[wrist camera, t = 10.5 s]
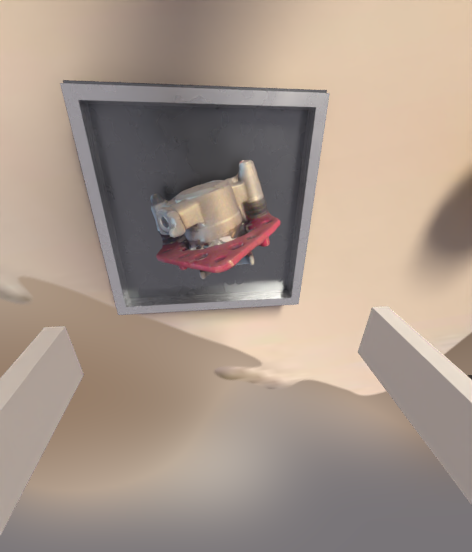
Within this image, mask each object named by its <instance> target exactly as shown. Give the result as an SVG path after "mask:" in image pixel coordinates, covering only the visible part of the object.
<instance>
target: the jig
mask: <svg viewBox="0 0 472 552" xmlns="http://www.w3.org/2000/svg"><path fill="white" fill-rule="evenodd" d="M60 84H61V88H62V92H63V96H64V100H65V104H66V108H67V112H68V116H69V120H70V124H71V128H72V132H73V136H74V140H75V144H76V148H77V152H78V156H79V160H80V164H81V168H82V172H83V176H84V180H85V184H86V188H87V192H88V196H89V200H90V204H91V208H92V212H93V216H94V220H95V224H96V228H97V232H98V236H99V240H100V244H101V248H102V252H103V256H104V260H105V264H106V268H107V272H108V276H109V280H110V284H111V288H112V292H113V296H114V300H115V304H116V308H117V312H118V315H126V314H143V313H160V312H177V311H193V310H210V309H227V308H244V307H261V306H277V305H294V304H299V297H300V290H301V283H302V276H303V270H304V263H305V256H306V249H307V243H308V236H309V229H310V222H311V215H312V209H313V202H314V195H315V188H316V181H317V175H318V168H319V161H320V154H321V147H322V141H323V134H324V127H325V120H326V114H327V107H328V100H329V93H326V92H327V90H304V89H278V88H252V87H226V86H199V85H173V84H147V83H121V82H95V81H69V80H63V83H60ZM242 160H244V161H245V160H252V161H253V163H254V166H255V169H256V171H257V175H258V178H259V181H260V185H261V189H262V192H263V195H264V198H265V200H266V203H267V209H268V211H269V213H270V214H271V215H272V216H274V217H276V218H278V219H279V220H280V222H281V223H280V226H279V227H278V228H277V229H276V230H275V232H274V233H272V234H271V235H270V236H269V241H270V244H269V246H266V247H262V246H257V247H255V248H254V249H253V250H252V254H253V256H254V264H253V265H250V264H241V265H235V266H234V267H232V268H231V269H229V270H227V271H224V272H221V273H212V274H210V275H208V276H207V277H206V278H205V279H202V278H201V277H200V273H199V271H200V270H198V269H191V268H187V269H186V270H180V268H179V266H178V265H174V264H169V263H164V262H162V261H158V260H157V258H156V255H157V253H158V252H159V251H160V250H161V249H162V246H163V241H162V237H161V235H160V234H159V232H158V230H157V226H156V221H155V218H154V215H153V213H152V210H151V199H150V198H151V195H153V194H154V193H158V194H160V195H161V196H162V197H163V198H164V199H165V200H167V201H170V200H172V199H173V198H174V197H175V196H176V195H178V194H179V193H180V192H182V191H184V190H186V189H189V188H192V187H194V186H197V185H201V184H204V183H207V182H210V181H213V180H226V179H228V178H231V177H234V176H236V175H237V174H238V172H239V163H240V162H241V161H242Z"/></svg>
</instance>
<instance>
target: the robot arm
mask: <svg viewBox="0 0 472 552" xmlns="http://www.w3.org/2000/svg"><path fill="white" fill-rule="evenodd" d="M358 353H359V354H360V356H361V357H362V359H363V360H364V361H365V363H366V364H367V365H368V367H369V368H370V369H371V371H372V372H373V373H374V375H375V376H376V377H377V379H378V380H379V381H380V383H381V384H382V385H383V387H384V388H385V389H386V391H387V392H388V393H389V395H390V396H391V397H392V399H393V400H394V401H395V403H396V404H397V405H398V407H399V408H400V409H401V411H402V412H403V413H404V415H405V416H406V418H407V419H408V420H409V422H410V423H411V424H412V426H413V427H414V428H415V430H416V431H417V432H418V434H419V435H420V436H421V437H422V439H423V440H424V442H425V443H426V444H427V446H428V447H429V448H430V450H431V451H432V452H433V454H434V455H435V456H436V458H437V459H438V460H439V462H440V463H441V464H442V466H443V467H444V468H445V470H446V471H447V472H448V474H449V475H450V477H451V478H452V479H453V480H454V482H455V483H456V484H457V486H458V487H459V489H460V490H461V491H462V493H463V494H464V495H465V496H466V498H467V499H468V500H469V502H470V503H471V505H472V375H466V374H464V373H463V372H462V371H461V370H460V369H459V368H458V367H456V366H455V365H454V364H453V363H452V362H451V361H449V359H447V358H446V357H445V356H444V355H443V354H442V353H441V352H439V351H438V350H437V349H436V348H435V347H434V346H433V345H431V344H430V343H429V342H428V341H427V340H426V339H425V338H423V337H422V336H421V335H420V334H419V333H418V332H417V331H415V330H414V329H413V328H412V327H411V326H410V325H409V324H407V323H406V322H405V321H404V320H403V319H402V318H401V317H399V316H398V315H397V314H396V313H395V312H394V311H393V310H391V309H390V308H389V307H388V306H384V307H372V309H371V312H370V316H369V319H368V322H367V325H366V328H365V331H364V334H363V338H362V341H361V344H360V347H359V350H358ZM83 375H84V373H83V371H82V368H81V366H80V363H79V360H78V358H77V356H76V353H75V350H74V348H73V345H72V342H71V340H70V337H69V335H68V332H67V329H66V327H65V326H58V327H44V329H43V330H42V331H41V332H40V333H39V334H38V336H37V337H36V338H35V339H34V340H33V341H32V342H31V344H30V345H29V346H28V347H27V348H26V349H25V350H24V352H23V353H22V354H21V355H20V356H19V357H18V358H17V360H16V361H15V362H14V363H13V364H12V365H11V367H10V368H9V369H8V370H7V371H6V372H5V373H4V375H3V376H2V377H1V378H0V535H1V533H2V531H3V529H4V527H5V526H6V524H7V522H8V520H9V518H10V515H11V514H12V512H13V510H14V508H15V506H16V504H17V502H18V501H19V499H20V497H21V495H22V493H23V491H24V489H25V487H26V485H27V483H28V481H29V479H30V477H31V476H32V474H33V472H34V470H35V468H36V466H37V464H38V462H39V460H40V458H41V456H42V454H43V452H44V450H45V449H46V447H47V445H48V443H49V441H50V439H51V437H52V435H53V433H54V431H55V429H56V427H57V425H58V424H59V422H60V419H61V418H62V416H63V414H64V412H65V410H66V408H67V406H68V404H69V402H70V400H71V398H72V397H73V395H74V392H75V391H76V389H77V387H78V385H79V383H80V381H81V379H82V377H83Z"/></svg>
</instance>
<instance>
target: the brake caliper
mask: <svg viewBox="0 0 472 552" xmlns="http://www.w3.org/2000/svg"><path fill="white" fill-rule="evenodd" d="M150 199H151V210H152V213H153V215H154V218H155V221H156V226H157V230H158V232H159V234H160V235H161V237H162V241H163V246H162V249H161V250H160V251H159V252H158V253H157V255H156V258H157V260H158V261H162V262H164V263H169V264H174V265H178V266H179V268H180V270H186V269H187V268H191V269H198V270H200V271H199V273H200V277H201V278H202V279H205V278H206V277H207V276H208V275H210V274H212V273H221V272H224V271H227V270H229V269H231V268H232V267H234V266H235V265H241V264H250V265H253V264H254V256H253V254H252V250H253V249H254V248H255V247H257V246H262V247H266V246H269V244H270V241H269V236H270V235H271V234H272V233H274V232H275V230H276V229H277V228H278V227H279V226H280V223H281V222H280V220H279V219H278V218H276V217H274V216H272V215H271V214H270V213H269V211H268V209H267V203H266V200H265V198H264V195H263V192H262V189H261V185H260V181H259V178H258V175H257V171H256V169H255V166H254V163H253V161H252V160H245V161H244V160H242V161H241V162H240V163H239V172H238V174H237V175H236V176H234V177H231V178H228V179H226V180H213V181H210V182H207V183H204V184H201V185H197V186H194V187H192V188H189V189H186V190H184V191H182V192H180V193H179V194H178V195H176V196H175V197H174V198H173V199H172V200H170V201H167V200H165V199H164V198H163V197H162V196H161V195H160V194H158V193H154V194H153V195H151V198H150Z"/></svg>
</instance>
